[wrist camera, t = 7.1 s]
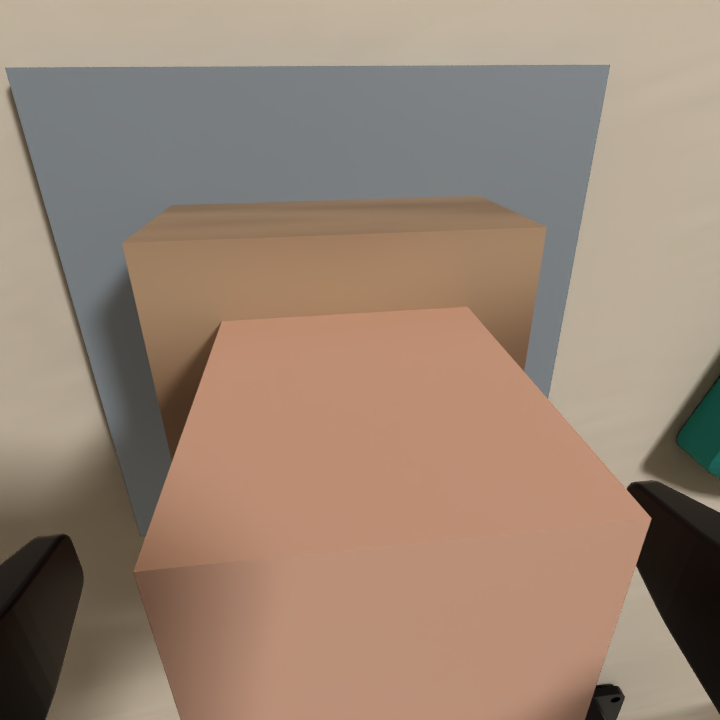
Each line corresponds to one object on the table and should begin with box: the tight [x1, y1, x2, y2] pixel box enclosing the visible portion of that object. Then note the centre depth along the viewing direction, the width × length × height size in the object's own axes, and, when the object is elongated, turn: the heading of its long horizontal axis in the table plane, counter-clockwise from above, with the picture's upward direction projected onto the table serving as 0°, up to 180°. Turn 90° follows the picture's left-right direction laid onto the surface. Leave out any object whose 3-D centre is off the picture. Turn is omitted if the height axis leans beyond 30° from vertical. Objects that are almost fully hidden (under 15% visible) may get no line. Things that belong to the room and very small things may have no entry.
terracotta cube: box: [133, 307, 652, 720], centre depth 9 cm, size 5×5×6 cm
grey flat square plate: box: [5, 65, 610, 536], centre depth 15 cm, size 14×14×1 cm
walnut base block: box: [122, 196, 547, 461], centre depth 13 cm, size 8×8×4 cm
